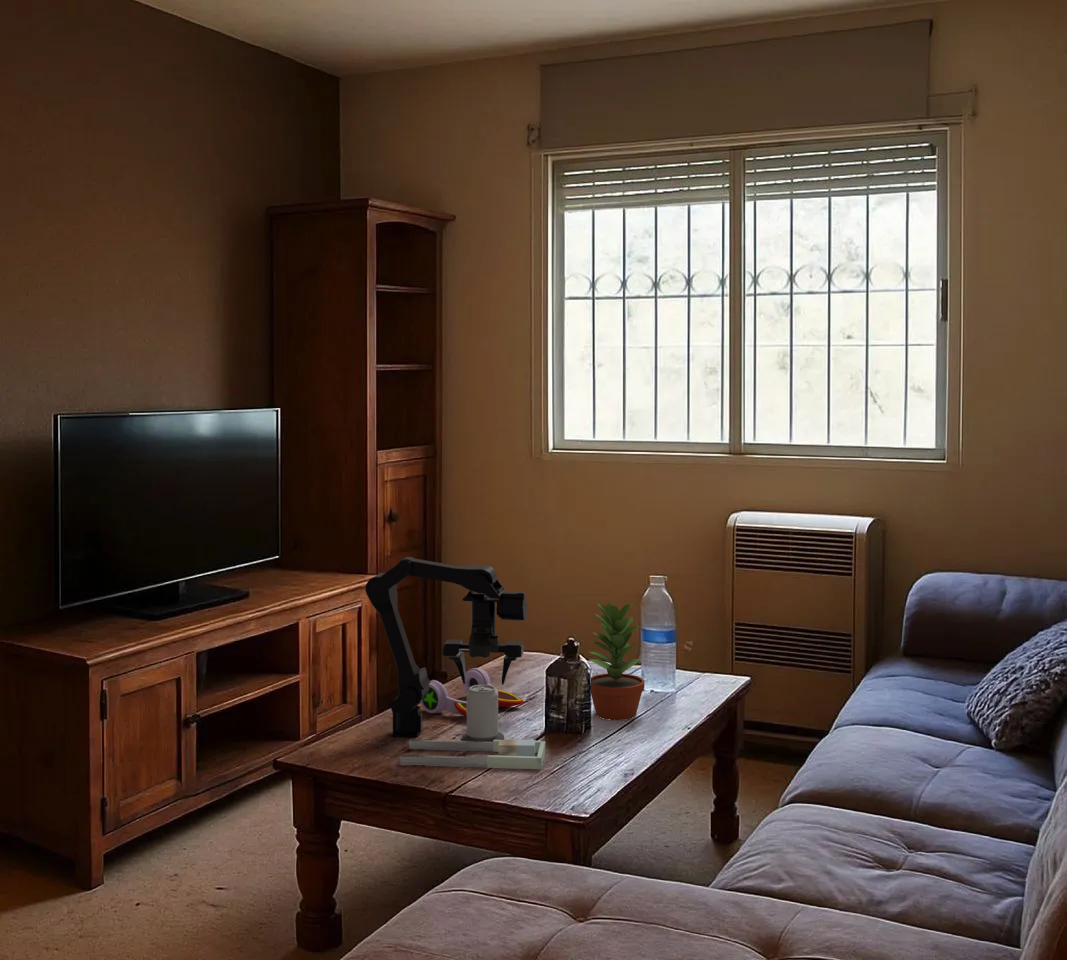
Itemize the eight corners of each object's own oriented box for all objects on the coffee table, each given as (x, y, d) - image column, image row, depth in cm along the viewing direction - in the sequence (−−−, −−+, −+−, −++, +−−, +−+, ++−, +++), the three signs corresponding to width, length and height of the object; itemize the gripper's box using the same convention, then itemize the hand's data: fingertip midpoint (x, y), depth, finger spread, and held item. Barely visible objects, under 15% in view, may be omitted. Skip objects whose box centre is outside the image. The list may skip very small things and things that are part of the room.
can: (473, 743, 276) (473, 693, 275) (462, 734, 283) (461, 685, 282) (503, 739, 279) (503, 689, 278) (491, 730, 286) (490, 681, 285)
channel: (400, 765, 263) (399, 756, 263) (410, 747, 275) (410, 739, 275) (487, 767, 261) (487, 758, 261) (493, 750, 273) (493, 741, 273)
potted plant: (648, 707, 307) (649, 593, 304) (640, 724, 292) (641, 605, 290) (591, 704, 310) (592, 591, 308) (581, 720, 296) (581, 602, 293)
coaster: (459, 745, 277) (459, 742, 277) (465, 731, 287) (465, 729, 287) (501, 746, 276) (501, 743, 276) (506, 733, 286) (506, 730, 286)
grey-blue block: (516, 762, 265) (516, 745, 265) (517, 756, 269) (517, 739, 269) (534, 762, 265) (534, 745, 264) (535, 757, 269) (535, 739, 268)
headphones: (467, 666, 320) (524, 668, 307) (470, 702, 320) (527, 706, 307) (416, 681, 304) (473, 684, 292) (419, 719, 304) (477, 724, 292)
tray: (487, 767, 261) (487, 756, 261) (493, 750, 273) (493, 739, 273) (541, 769, 260) (541, 758, 260) (545, 751, 272) (545, 741, 272)
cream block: (498, 762, 265) (498, 745, 265) (499, 756, 269) (499, 739, 268) (516, 762, 265) (516, 745, 264) (517, 756, 269) (517, 739, 268)
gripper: (438, 626, 273) (439, 692, 274) (518, 627, 271) (519, 694, 273) (446, 615, 284) (447, 679, 285) (523, 617, 282) (524, 681, 284)
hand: (483, 683), depth 282 cm, fingers open, 9 cm apart
